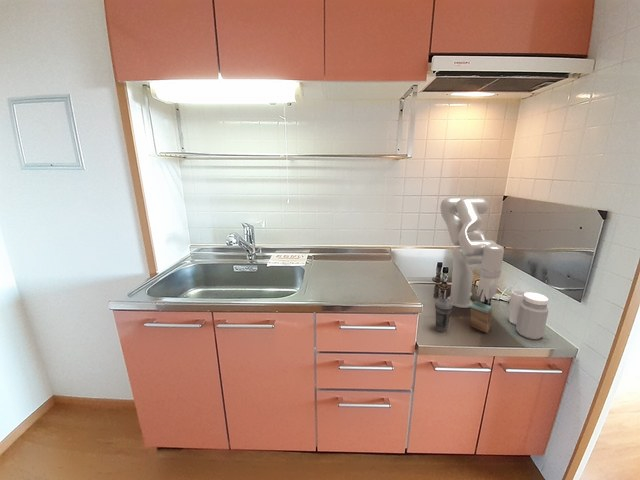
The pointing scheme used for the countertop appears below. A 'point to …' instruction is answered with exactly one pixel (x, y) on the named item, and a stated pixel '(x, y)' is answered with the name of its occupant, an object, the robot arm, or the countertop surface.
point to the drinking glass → (515, 305)
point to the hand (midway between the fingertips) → (485, 310)
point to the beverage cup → (443, 313)
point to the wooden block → (481, 316)
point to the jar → (532, 315)
